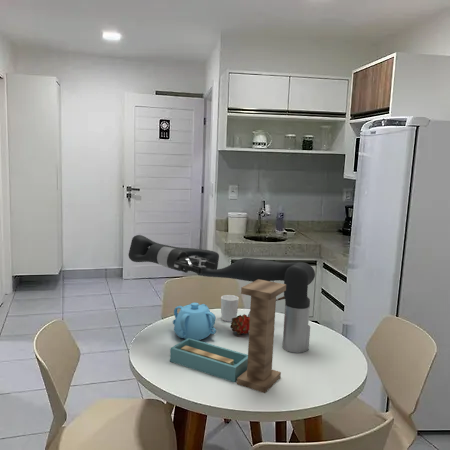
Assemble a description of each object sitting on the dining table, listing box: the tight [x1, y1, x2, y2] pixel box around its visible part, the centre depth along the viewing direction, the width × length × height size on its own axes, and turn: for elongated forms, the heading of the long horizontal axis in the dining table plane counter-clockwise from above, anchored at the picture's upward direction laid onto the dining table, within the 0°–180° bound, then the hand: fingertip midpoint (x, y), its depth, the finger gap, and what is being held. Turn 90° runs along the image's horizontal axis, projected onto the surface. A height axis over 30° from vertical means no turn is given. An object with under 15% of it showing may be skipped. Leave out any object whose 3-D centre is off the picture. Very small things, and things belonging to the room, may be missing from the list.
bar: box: [181, 346, 234, 366], centre depth 156 cm, size 20×3×3 cm, turn 59°
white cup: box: [220, 294, 240, 323], centre depth 201 cm, size 8×8×10 cm
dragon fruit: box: [230, 313, 250, 336], centre depth 186 cm, size 8×8×12 cm
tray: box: [169, 338, 248, 383], centre depth 156 cm, size 26×11×5 cm, turn 60°
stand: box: [236, 279, 286, 394], centre depth 144 cm, size 10×12×32 cm
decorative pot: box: [172, 302, 217, 341], centre depth 180 cm, size 16×16×14 cm
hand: (208, 268), depth 159 cm, fingers open, 8 cm apart
